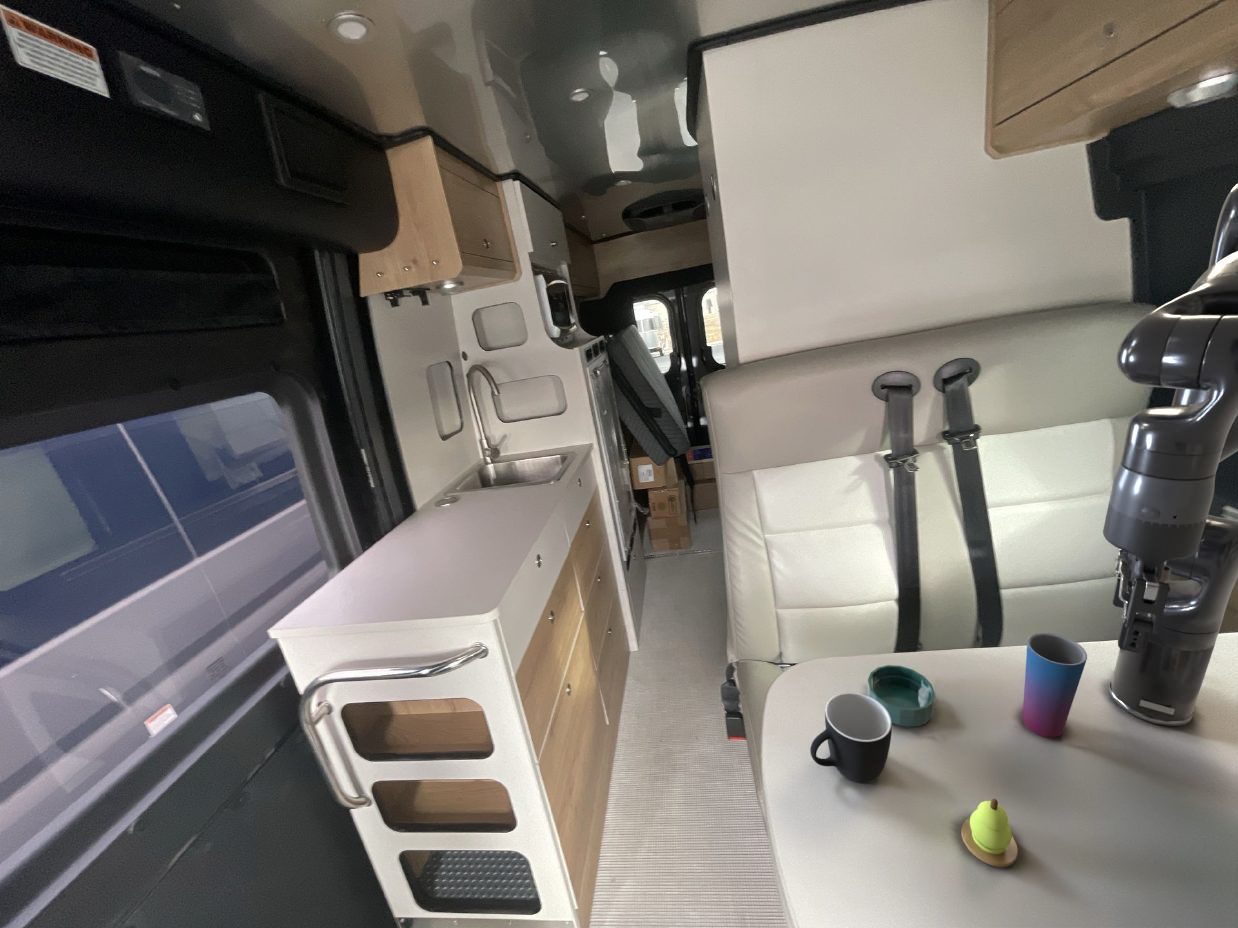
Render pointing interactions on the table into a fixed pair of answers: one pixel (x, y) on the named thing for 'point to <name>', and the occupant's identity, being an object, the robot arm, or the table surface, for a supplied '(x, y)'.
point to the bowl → (902, 694)
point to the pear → (990, 827)
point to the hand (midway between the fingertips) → (1126, 626)
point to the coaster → (992, 859)
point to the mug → (855, 736)
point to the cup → (1051, 682)
